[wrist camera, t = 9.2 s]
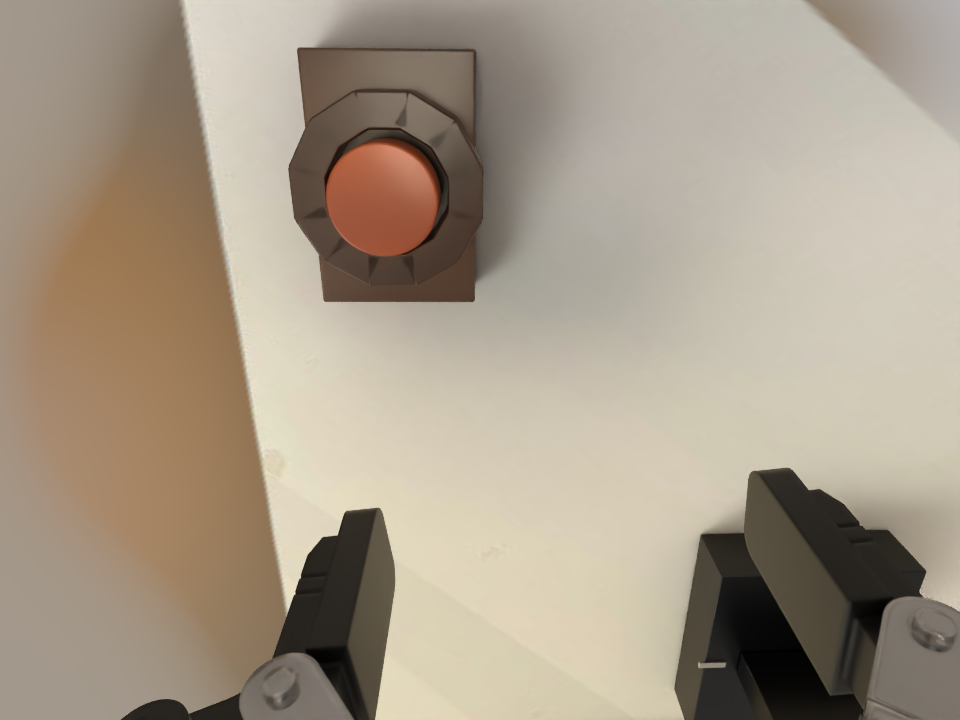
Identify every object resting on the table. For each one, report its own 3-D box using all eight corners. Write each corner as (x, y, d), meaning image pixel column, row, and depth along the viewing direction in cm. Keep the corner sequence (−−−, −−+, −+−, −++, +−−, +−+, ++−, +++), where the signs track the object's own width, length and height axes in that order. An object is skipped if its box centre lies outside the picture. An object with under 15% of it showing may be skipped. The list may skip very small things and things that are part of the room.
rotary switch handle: (735, 673, 32) (782, 775, 28) (741, 651, 32) (789, 753, 27) (857, 670, 32) (924, 772, 28) (865, 649, 32) (935, 750, 27)
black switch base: (693, 534, 32) (716, 579, 29) (895, 529, 32) (936, 573, 29) (668, 688, 37) (684, 739, 34) (842, 684, 37) (873, 734, 34)
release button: (331, 136, 20) (319, 142, 19) (439, 137, 20) (437, 142, 19) (341, 243, 22) (330, 257, 20) (441, 244, 22) (439, 257, 20)
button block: (304, 50, 22) (272, 44, 19) (481, 51, 22) (484, 46, 19) (328, 285, 26) (305, 318, 22) (480, 285, 26) (481, 318, 23)
